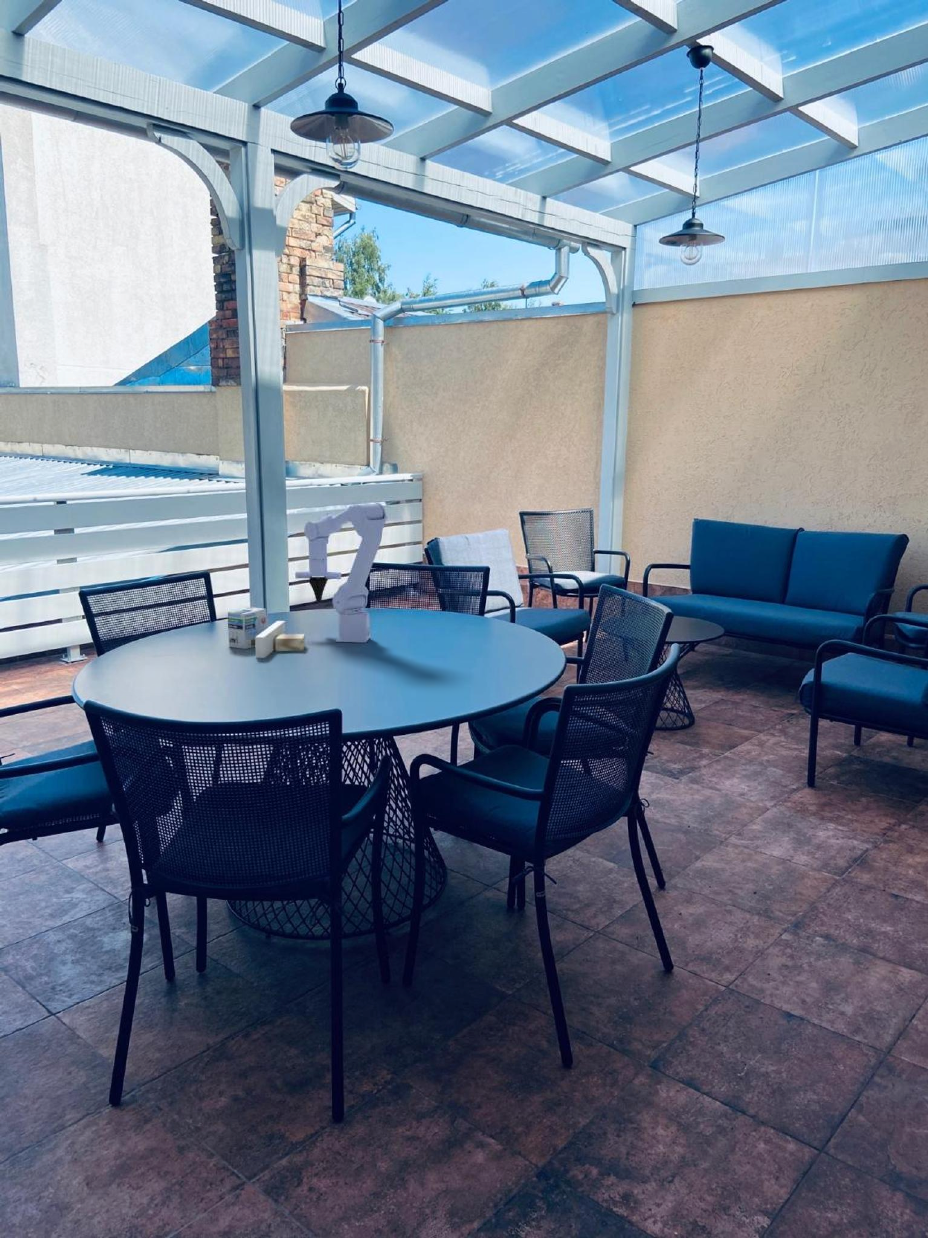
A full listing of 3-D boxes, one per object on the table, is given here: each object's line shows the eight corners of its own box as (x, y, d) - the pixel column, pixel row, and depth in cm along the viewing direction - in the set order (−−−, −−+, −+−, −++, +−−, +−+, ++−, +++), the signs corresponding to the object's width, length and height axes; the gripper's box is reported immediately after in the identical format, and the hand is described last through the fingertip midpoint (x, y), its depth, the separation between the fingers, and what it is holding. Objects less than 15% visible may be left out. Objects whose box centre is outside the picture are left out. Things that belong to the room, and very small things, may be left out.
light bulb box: (245, 649, 266) (244, 614, 263) (227, 647, 268) (226, 612, 266) (268, 642, 275) (267, 608, 273) (250, 640, 278) (249, 606, 276)
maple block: (305, 647, 271) (304, 634, 270) (303, 651, 265) (302, 638, 264) (278, 647, 270) (277, 634, 269) (275, 651, 264) (275, 638, 263)
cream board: (285, 639, 279) (285, 621, 278) (264, 658, 255) (263, 637, 254) (277, 639, 279) (277, 620, 278) (255, 657, 255) (255, 637, 254)
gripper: (342, 557, 289) (343, 599, 292) (298, 557, 290) (299, 598, 292) (338, 560, 282) (339, 603, 285) (293, 559, 283) (294, 602, 286)
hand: (318, 600), depth 288 cm, fingers closed
